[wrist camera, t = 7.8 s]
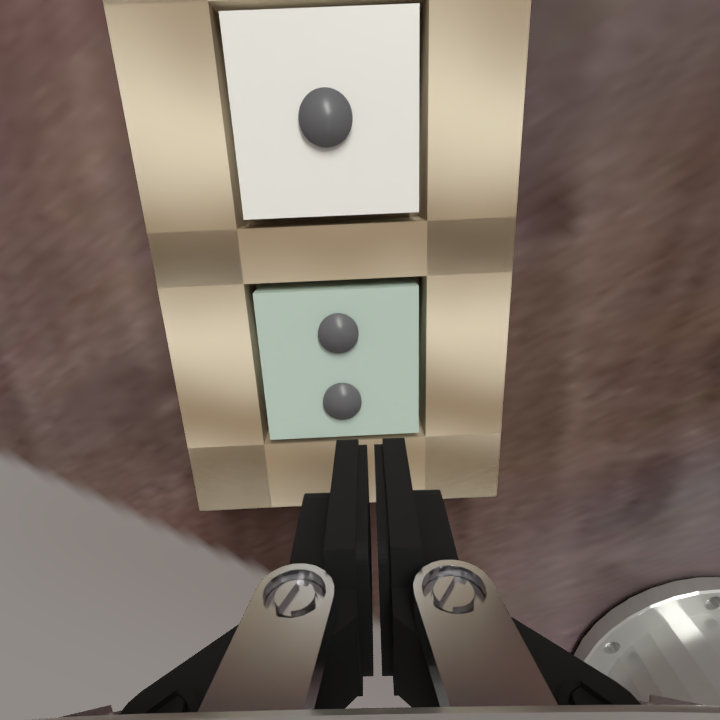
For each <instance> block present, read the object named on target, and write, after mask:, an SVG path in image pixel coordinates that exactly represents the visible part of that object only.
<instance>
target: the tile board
mask: <svg viewBox="0 0 720 720" xmlns="http://www.w3.org/2000/svg"><path fill="white" fill-rule="evenodd" d="M411 3H420V20H419V212H410V213H388V214H365V215H342V216H320V217H297V218H274V219H252V220H244V218H243V210H242V202H241V193H240V185H239V177H238V168H237V160H236V152H235V144H234V135H233V127H232V119H231V110H230V102H229V94H228V85H227V77H226V69H225V61H224V52H223V44H222V36H221V27H220V19H219V11H234V10H260V9H285V8H310V7H335V6H361V5H386V4H411ZM103 4H104V9H105V14H106V19H107V25H108V30H109V35H110V41H111V46H112V51H113V56H114V62H115V67H116V72H117V77H118V83H119V88H120V93H121V98H122V104H123V109H124V114H125V120H126V125H127V130H128V135H129V141H130V146H131V151H132V156H133V162H134V167H135V172H136V177H137V183H138V188H139V193H140V199H141V204H142V209H143V214H144V220H145V225H146V230H147V235H148V241H149V246H150V251H151V257H152V262H153V267H154V272H155V278H156V283H157V288H158V293H159V299H160V304H161V309H162V314H163V320H164V325H165V330H166V336H167V341H168V346H169V351H170V357H171V362H172V367H173V372H174V378H175V383H176V388H177V393H178V399H179V404H180V409H181V415H182V420H183V425H184V430H185V436H186V441H187V446H188V451H189V457H190V462H191V467H192V472H193V478H194V483H195V488H196V494H197V499H198V504H199V509H200V511H208V510H228V509H248V508H268V507H288V506H302V501H303V497H304V494H305V493H330V490H331V481H332V473H333V464H334V456H335V447H336V440H345V439H358V441H359V445H367V454H368V478H369V502H376V484H375V455H374V444H383V443H382V438H404V439H405V444H406V451H407V457H408V463H409V469H410V475H411V481H412V488H413V490H435V489H439V490H440V491H441V494H442V498H443V499H448V498H468V497H487V496H496V495H497V481H498V467H499V452H500V438H501V424H502V410H503V395H504V381H505V367H506V352H507V338H508V324H509V310H510V295H511V281H512V267H513V253H514V238H515V224H516V210H517V196H518V181H519V167H520V153H521V139H522V124H523V110H524V96H525V81H526V67H527V53H528V39H529V24H530V10H531V0H103ZM391 277H413V278H414V280H415V281H416V283H417V284H418V286H419V433H402V434H381V435H361V436H340V437H320V438H299V439H279V440H270V434H269V426H268V418H267V409H266V401H265V393H264V384H263V376H262V368H261V359H260V351H259V343H258V335H257V326H256V318H255V310H254V301H253V293H254V291H255V290H256V289H257V288H258V286H259V285H260V284H261V283H281V282H303V281H325V280H347V279H369V278H391Z"/></svg>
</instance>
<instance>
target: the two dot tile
mask: <svg viewBox="0 0 720 720" xmlns="http://www.w3.org/2000/svg"><path fill="white" fill-rule="evenodd" d="M253 301H254V310H255V318H256V326H257V335H258V343H259V351H260V359H261V368H262V376H263V384H264V393H265V401H266V409H267V418H268V426H269V434H270V440H279V439H299V438H320V437H340V436H361V435H381V434H402V433H419V286H418V284H417V283H416V281H415V280H414V278H413V277H391V278H369V279H347V280H325V281H303V282H281V283H261V284H260V285H259V286H258V288H257V289H256V290H255V291H254V293H253Z"/></svg>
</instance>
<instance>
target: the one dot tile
mask: <svg viewBox="0 0 720 720" xmlns="http://www.w3.org/2000/svg"><path fill="white" fill-rule="evenodd" d="M219 19H220V27H221V36H222V44H223V52H224V61H225V69H226V77H227V85H228V94H229V102H230V110H231V119H232V127H233V135H234V144H235V152H236V160H237V168H238V177H239V185H240V193H241V202H242V210H243V218H244V220H252V219H274V218H297V217H320V216H342V215H365V214H388V213H410V212H419V20H420V3H411V4H386V5H361V6H335V7H310V8H285V9H260V10H234V11H219Z"/></svg>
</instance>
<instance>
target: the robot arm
mask: <svg viewBox="0 0 720 720" xmlns="http://www.w3.org/2000/svg"><path fill="white" fill-rule="evenodd" d="M382 443H383V444H374V455H375V484H376V512H377V540H378V568H379V596H380V625H381V651H382V652H381V653H382V676H393V683H394V695H399V696H400V697H401V698H402V699H403V700H404V701H406V702H407V703H408V704H409V705H410V706H411V707H412V708H361V709H345V708H346V707H347V706H348V705H349V704H350V703H351V702H352V701H353V700H354V699H355V698H356V697H357V696H363V676H373V623H372V564H371V528H370V503H369V478H368V454H367V445H359V441H358V439H345V440H336V447H335V456H334V464H333V473H332V481H331V490H330V493H305V494H304V497H303V501H302V506H301V511H300V516H299V521H298V525H297V530H296V535H295V540H294V545H293V550H292V555H291V559H290V564H289V565H287V566H283V567H280V568H278V569H276V570H274V571H272V572H271V573H269V574H268V575H267V576H266V577H265V578H263V579H262V580H261V582H260V583H259V585H258V586H257V588H256V589H255V592H254V594H253V596H252V598H251V600H250V602H249V604H248V606H247V609H246V611H245V613H244V615H243V617H242V619H241V621H240V624H239V625H237V626H236V627H234V628H233V629H231V630H230V631H229V632H227V633H226V634H224V635H223V636H221V637H220V638H218V639H217V640H215V641H214V642H212V643H211V644H210V645H208V646H207V647H205V648H204V649H202V650H201V651H200V652H198V653H197V654H195V655H194V656H192V657H191V658H189V659H188V660H187V661H185V662H184V663H182V664H181V665H179V666H178V667H177V668H175V669H173V670H172V671H171V672H169V673H168V674H166V675H165V676H163V677H162V678H160V679H159V680H157V681H156V682H154V683H153V684H152V685H150V686H149V687H147V688H146V689H144V690H143V691H142V692H140V693H139V694H138V695H137V696H136V697H135V698H133V699H132V700H131V701H130V702H129V703H128V704H127V705H126V706H125V708H124V709H123V710H122V711H118V712H113V711H112V708H111V705H109V706H105V707H100V708H97V709H92V710H88V711H84V712H79V713H75V714H71V715H67V716H63V717H58V718H45V719H34V720H720V577H697V578H691V579H685V580H678V581H673V582H670V583H666V584H663V585H660V586H656V587H653V588H650V589H648V590H646V591H644V592H642V593H639V594H637V595H635V596H633V597H631V598H629V599H627V600H626V601H624V602H623V603H621V604H619V605H618V606H616V607H615V608H613V609H612V610H610V611H609V612H608V613H607V614H606V615H605V616H603V617H602V618H601V619H600V620H599V621H598V622H596V623H595V624H594V626H593V627H592V628H591V629H590V630H589V632H588V633H587V634H586V635H585V636H584V638H583V639H582V641H581V643H580V645H579V646H578V648H577V650H576V652H575V654H574V655H572V654H571V653H569V652H567V651H566V650H564V649H563V648H561V647H559V646H558V645H556V644H554V643H553V642H551V641H550V640H548V639H546V638H545V637H543V636H541V635H540V634H538V633H537V632H535V631H533V630H532V629H530V628H528V627H527V626H525V625H524V624H522V623H520V622H519V621H517V620H515V619H514V618H512V617H511V616H510V614H509V612H508V610H507V608H506V607H505V605H504V603H503V601H502V599H501V597H500V595H499V593H498V592H497V590H496V588H495V586H494V584H493V582H492V581H491V580H490V578H489V577H488V576H487V574H486V573H484V572H483V571H482V570H480V569H479V568H478V567H476V566H474V565H471V564H469V563H467V562H463V561H459V560H458V556H457V552H456V549H455V545H454V541H453V537H452V533H451V529H450V525H449V521H448V517H447V513H446V509H445V506H444V502H443V498H442V494H441V491H440V490H439V489H435V490H413V488H412V481H411V475H410V469H409V463H408V457H407V451H406V444H405V439H404V438H382ZM32 720H33V719H32Z"/></svg>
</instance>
